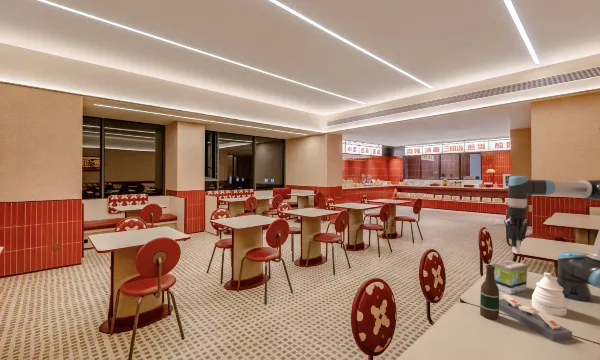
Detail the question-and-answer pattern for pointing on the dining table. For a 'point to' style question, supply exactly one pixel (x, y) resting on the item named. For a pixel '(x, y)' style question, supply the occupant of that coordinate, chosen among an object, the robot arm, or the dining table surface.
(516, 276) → the tea box
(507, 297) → the rocker
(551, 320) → the end rocker
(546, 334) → the power strip
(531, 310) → the middle rocker
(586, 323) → the dining table surface
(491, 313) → the beer bottle
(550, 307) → the honey pot
